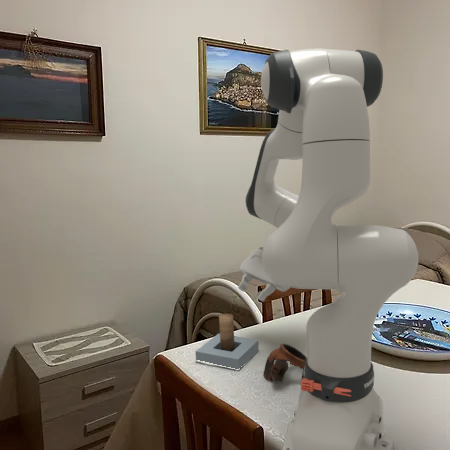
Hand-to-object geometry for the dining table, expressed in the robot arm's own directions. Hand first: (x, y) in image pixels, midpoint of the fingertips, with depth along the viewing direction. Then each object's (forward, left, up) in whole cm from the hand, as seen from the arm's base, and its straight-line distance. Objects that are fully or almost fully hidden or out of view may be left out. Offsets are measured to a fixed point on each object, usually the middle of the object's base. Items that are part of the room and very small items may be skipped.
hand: (249, 294), depth 118 cm
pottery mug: (-11, -13, -16) cm, 23 cm away
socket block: (-6, +4, -15) cm, 17 cm away
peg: (-6, +4, -15) cm, 17 cm away
